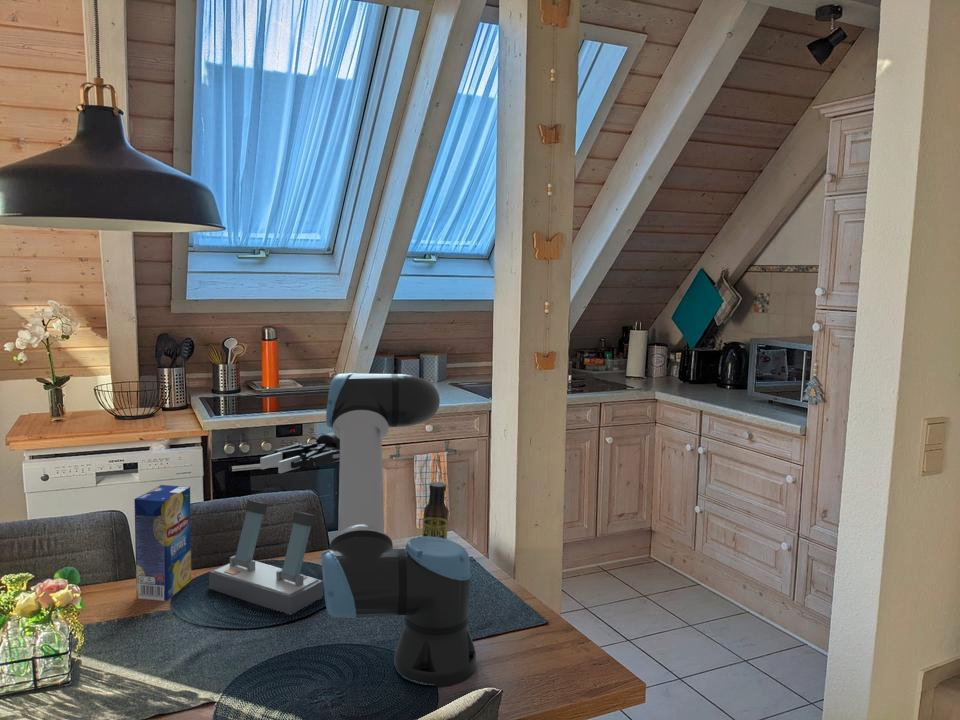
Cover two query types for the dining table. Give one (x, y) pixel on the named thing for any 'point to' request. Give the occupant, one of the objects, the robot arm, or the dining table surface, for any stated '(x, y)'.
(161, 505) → the blue food box
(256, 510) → the lever far
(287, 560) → the lever near
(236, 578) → the switch console
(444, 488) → the sauce bottle
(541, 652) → the dining table surface
